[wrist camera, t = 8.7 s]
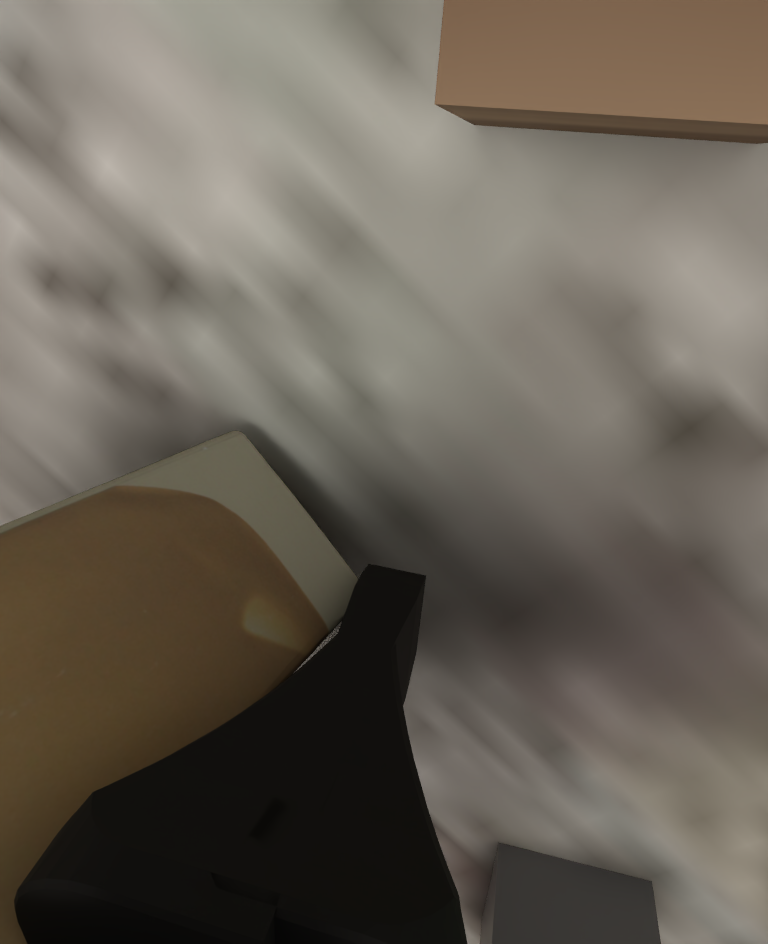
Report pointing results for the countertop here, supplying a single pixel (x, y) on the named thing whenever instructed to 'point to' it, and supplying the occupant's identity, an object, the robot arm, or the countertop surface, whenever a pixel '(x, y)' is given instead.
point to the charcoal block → (564, 903)
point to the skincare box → (146, 628)
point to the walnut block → (609, 66)
